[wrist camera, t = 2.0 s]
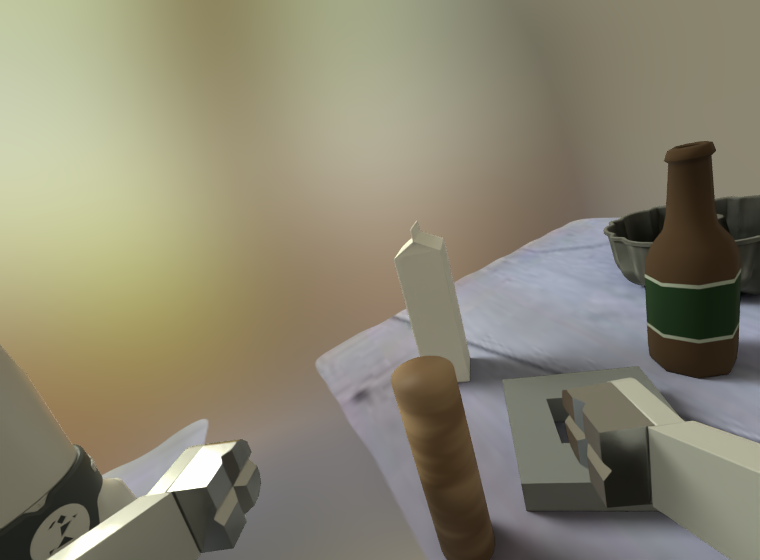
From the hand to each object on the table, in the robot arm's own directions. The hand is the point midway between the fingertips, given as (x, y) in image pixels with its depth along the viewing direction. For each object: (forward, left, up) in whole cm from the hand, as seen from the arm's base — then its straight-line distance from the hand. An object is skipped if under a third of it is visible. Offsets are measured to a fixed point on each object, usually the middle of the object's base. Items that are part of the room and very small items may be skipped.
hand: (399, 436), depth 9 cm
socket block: (+10, +23, -23) cm, 34 cm away
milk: (-4, +37, -23) cm, 44 cm away
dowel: (-2, +13, -23) cm, 27 cm away
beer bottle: (+24, +34, -23) cm, 48 cm away
